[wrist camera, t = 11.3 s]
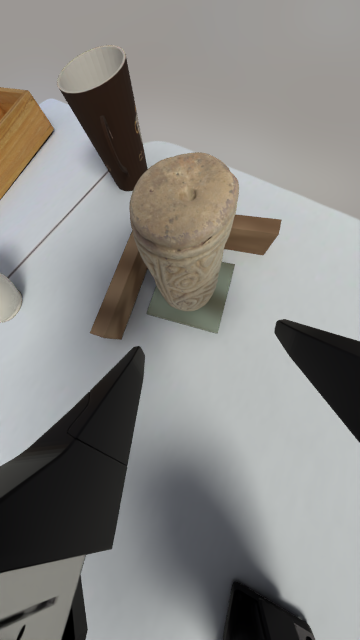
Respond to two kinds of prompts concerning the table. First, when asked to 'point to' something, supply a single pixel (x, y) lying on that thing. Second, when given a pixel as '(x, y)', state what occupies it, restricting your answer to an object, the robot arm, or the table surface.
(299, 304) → the table surface
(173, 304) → the carving
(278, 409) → the table surface
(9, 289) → the lidded jar
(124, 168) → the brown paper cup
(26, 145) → the tray
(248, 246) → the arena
